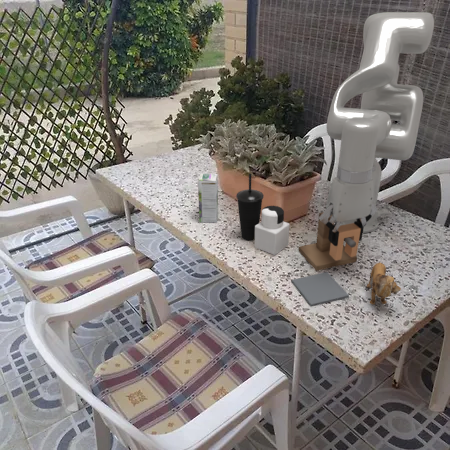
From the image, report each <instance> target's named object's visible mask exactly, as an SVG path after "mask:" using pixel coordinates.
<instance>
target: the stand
mask: <svg viewBox="0 0 450 450" xmlns="http://www.w3.org/2000/svg"><path fill="white" fill-rule="evenodd" d="M324 212H325V211H323V212H319V214H318V218H319V217H320V216H321V215H322V214H323V213H324ZM331 217H332V215H331V216H330V217H329V218H328V221H330V219H331ZM335 223H336V222H334V225H335ZM328 236H329V228H328V227H327V226H326V225H325V224H324V223H323V222H321V221H320V220H319V219H318V223H317V232H316V242H314V243H310V244H305V245H301V246H298V253H300V255H301V256H302V257H303V258H304V259H305V260H306V261H307V263H309V265H310V266H311V267H312V268H313V269H314V270H315V271H316V272H318V271H323V270H326V269H331V268H336V267H339V266H344V265H349V264H353V263H357V260H358V259H357V258H358V256H354V257H350V256H349V255H348V254H347V253H346V252H345V244H346V243H347V244H348V245H349V246H350V247H352V248H353V247H355V246H356V242H355V241H354V240H352V239H351V238H350V237H348V238H344V243H345V244H343V250H342V257H341V260H335V259H334V258H333V257H332V256H331V255H330V254H329V253H330V245H331V242H330V241H329V239H328Z"/></svg>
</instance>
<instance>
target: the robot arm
mask: <svg viewBox="0 0 450 450" xmlns="http://www.w3.org/2000/svg"><path fill="white" fill-rule="evenodd" d="M434 27H435V19H434V16H433V14H432V13H431V12H426V11H424V12H423V11H421V12H420V11H419V12H416V11H414V12H411V11H407V12H405V11H403V12H402V11H394V12H393V11H389V12H387V11H386V12H384V11H383V12H378V13H374V14H371V15H369V16H368V17H367V18H366V20H365V21H364V25H363V29H362V30H363V33H362V35H363V36H362V37H363V38H362V39H363V51H362V52H363V53H362V56H361V61H360V64H359V69H358V70H356V71H355V72H353V73H352V74H351V75H350V76H348V77H347V78H345V80H344V81H343V82H341V84H340V85H339V86H338V88H337V89H336V90H335V93H334V95H333V97H332V98H331V99H332V100H331V104H330V108H329V112H328V115H327V119H326V120H327V121H326V133H327V135H328V137H330V139H333V140H336V141H340V145H339V146H340V148H339V157H338V164H337V173H336V177H333V179H332V181H331V184H330V187H329V189H328V195H327V199H326V205H325V206H326V207H325V210H324V211H323V212H324V213H323V214H322V215H321V216H320V217H319V216H318V221H319V220H320V221H321V222H323V223H324V224H325V225H326V226H327V227H328V228H329V236H328V239H329V241H330V242H331V243H332V244H333V245H334V246H337V245H338V238H339V231H338V229H339V227H340V226H341V225H346V224H351V223H354V224H355V225H357V226H358V227H359V228H360V229H361V231H360V237H359V242H362V241H363V240H362V239H363V234H367V233H372V232H373V231H375V230H377V229H378V226H379V220H378V218H379V217H382V216H387V215H388V213H389V211H388V209H387V208H383V209H380V208H379V206H377V204H378V203H377V202H378V197H379V191H380V186H381V179H382V175H383V174H382V168H381V165H380V163H379V161H378V159H387V160H395V161H406V160H410V158H411V157H412V156H413V154H414V150H415V148H416V143H417V139H418V138H417V137H418V133H419V132H418V131H419V127H420V123H421V116H422V110H423V105H424V92H423V90H422V89H421V87H419V86H417V85H414V84H403V83H402V84H400V83H399V84H398V80H399V75H400V69H401V68H400V65H399V59H400V54H418V55H419V54H424V53H425V52H426V51H427V50H428V48H429V46H430V44H431V41H432V38H433V33H434V29H435V28H434ZM361 94H362V95H361ZM359 95H361V102H360V108H357V107H356V108H355V107H345V105H346V104H347V103H348V102H349V101H350V100H351V99H352V98H355V97H357V96H359ZM392 121H397V122H400V124H399V123H392ZM331 215H332V217H331V219H330V221H328V218H329V217H330V216H331ZM334 222H335V223H334ZM334 224H335V225H334Z"/></svg>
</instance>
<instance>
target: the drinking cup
mask: <svg viewBox="0 0 450 450" xmlns="http://www.w3.org/2000/svg"><path fill="white" fill-rule="evenodd" d="M235 197H236V199H237V206H238V207H237V208H238V218H239V228H240V237H241V239H242V240H244V241H247V242H250V241H251V242H252V241H255V226H256V225H257V224H259V223H260V222H261V221H260V219H261V215H262V205H263V199H264V194H263V192H261V191H260V190H257V189H252V173H249V174H248V189H244V190H243V189H242V190H240V191H238V192H236V196H235Z"/></svg>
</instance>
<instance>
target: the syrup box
mask: <svg viewBox="0 0 450 450" xmlns="http://www.w3.org/2000/svg"><path fill="white" fill-rule="evenodd" d="M218 175H219V174H217V173H209V172H208V173H199V176H198V181H197V189H198V190H197V191H198V196H197V197H198V198H197V199H198V218H199V219H198V220H199V221H198V222H199V223H205V224H206V223H218V217H219V188H218V187H219V183H218V178H219V177H218Z"/></svg>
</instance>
